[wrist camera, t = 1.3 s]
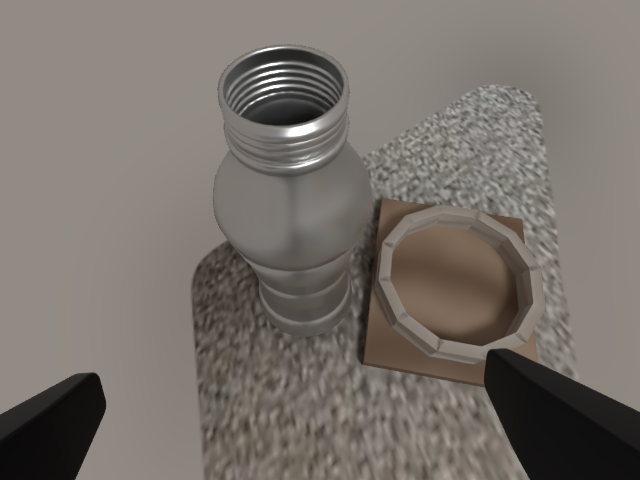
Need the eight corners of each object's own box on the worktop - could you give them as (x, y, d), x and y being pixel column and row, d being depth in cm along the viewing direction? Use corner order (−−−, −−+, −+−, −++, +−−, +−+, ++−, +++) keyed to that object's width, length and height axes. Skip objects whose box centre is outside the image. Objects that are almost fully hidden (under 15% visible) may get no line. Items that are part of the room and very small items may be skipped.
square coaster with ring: (531, 396, 24) (560, 392, 21) (361, 364, 25) (367, 357, 22) (515, 226, 31) (535, 206, 28) (380, 205, 32) (386, 184, 29)
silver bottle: (356, 336, 26) (435, 158, 8) (266, 349, 26) (150, 190, 8) (341, 259, 29) (378, 8, 11) (261, 270, 29) (168, 24, 11)
